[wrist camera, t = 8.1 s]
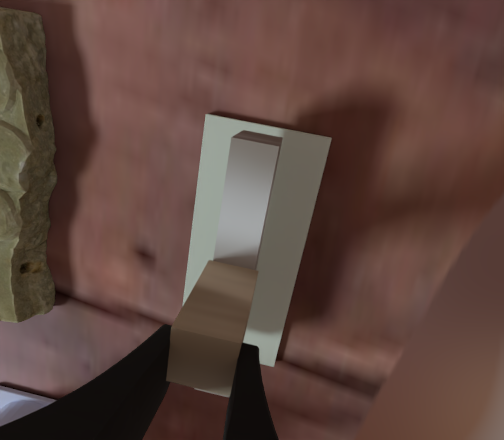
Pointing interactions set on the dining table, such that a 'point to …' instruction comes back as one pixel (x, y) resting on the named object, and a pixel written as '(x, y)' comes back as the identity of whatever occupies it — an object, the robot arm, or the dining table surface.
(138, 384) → the robot arm
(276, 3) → the dining table surface
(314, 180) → the mat
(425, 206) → the dining table surface
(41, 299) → the decorative tile
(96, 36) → the dining table surface
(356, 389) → the dining table surface
